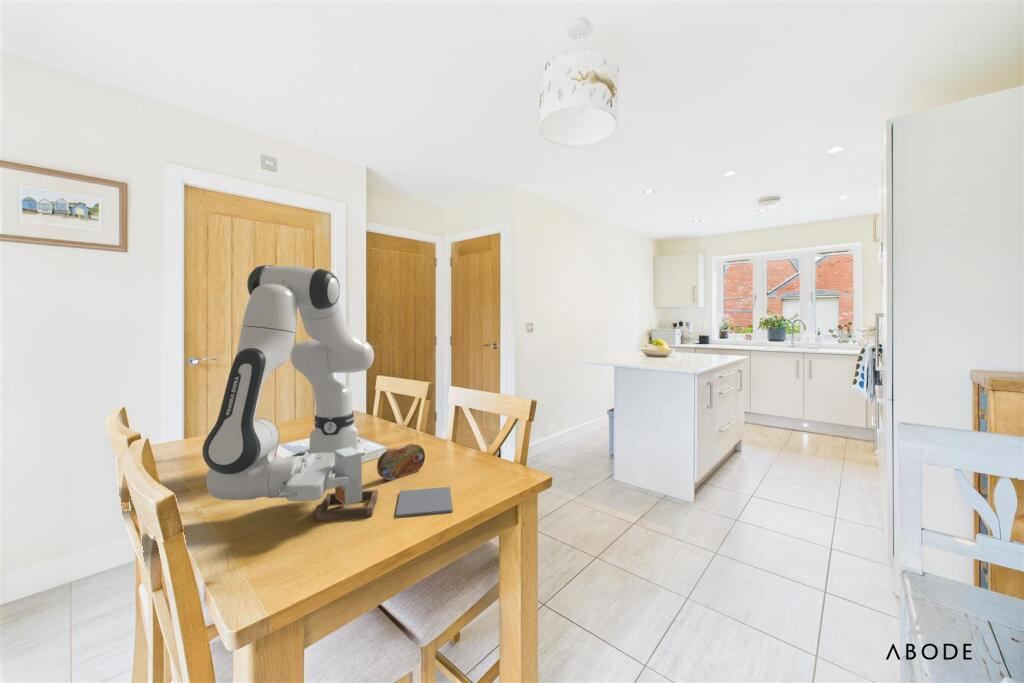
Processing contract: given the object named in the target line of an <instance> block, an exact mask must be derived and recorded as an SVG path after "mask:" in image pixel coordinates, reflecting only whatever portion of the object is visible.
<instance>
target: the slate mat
mask: <svg viewBox="0 0 1024 683" xmlns="http://www.w3.org/2000/svg"><path fill="white" fill-rule="evenodd" d="M397 500H398V502H397V505H396V506H397V507H396V512H395V518H401V517H412V516H413V517H414V516H416V517H417V516H422V515H423V516H425V515H436V514H437V515H438V514H446V513H448V514H449V513H454V512H453V502H452V493H451V487H450V486H446V487H445V486H444V487H431V488H419V489H418V488H417V489H406V490H399V494H398V499H397Z"/></svg>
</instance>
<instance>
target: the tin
mask: <svg viewBox="0 0 1024 683" xmlns="http://www.w3.org/2000/svg"><path fill="white" fill-rule="evenodd" d="M425 458H426V452H425V450H424V448H423V447H422V446H421V445H419V444H415V443H414V444H412V443H409V444H406V445H403V446H399V447H396V448H393V449H389V450H386V451H384V452H383V453H382V454H381V455H380V457H379V458H378V460H377V464H376V470H377V474H378V475H379V476H380V477H381V478H382V479H384V480H385V481H386V480H387V481H388V482H389V481H390V482H391V481H396V480H398V479H401V478H404V477H407V476H409V475H412V474H415V473H417V472H418V471H420V469H422V468H423V465H424V463H425Z"/></svg>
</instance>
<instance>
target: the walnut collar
mask: <svg viewBox="0 0 1024 683" xmlns="http://www.w3.org/2000/svg"><path fill="white" fill-rule="evenodd" d="M378 494H379V492H378V489H370V490H362V501H368V505H367V506H359V507H358V506H357V507H346V508H336V509H335V508H334V509H329V507H330V505H331V504H333V503H336V504H337V503H341V502H340V501H339V500H338V499H336V498H335V492H332V493H327V494H326V495H325V497H324V498H323V500H322V502H321V503H320V506H319V507H318V508H317V510H316V512H315V522H327V521H338V520H348V519H349V520H350V519H356V518H357V519H358V518H367V517H368V518H370V517H373V514H374V512H375V507H376V504H377V501H378Z"/></svg>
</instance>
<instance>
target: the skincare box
mask: <svg viewBox="0 0 1024 683" xmlns="http://www.w3.org/2000/svg"><path fill="white" fill-rule="evenodd" d="M362 455H363V454H362V453H361V452H359V451H358V450H356V449H354V448H352V447H348V448H343V449H339V450H335V475H334V478H337V477H341V476H346V475H348V476H349V483H348V484H347V485H343V486H338V487H335V488H334V493H335V498H336V499H338V500H339V501H340V502H339V503H342V504H343V505H344V506H345V507H348V506H351V505H354V504H356V503H360V502H361V501H363V500H362V491H363V471H362V470H363V468H362V466H363V463H362V462H363V461H362V460H363V459H362V458H363V457H362Z"/></svg>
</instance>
